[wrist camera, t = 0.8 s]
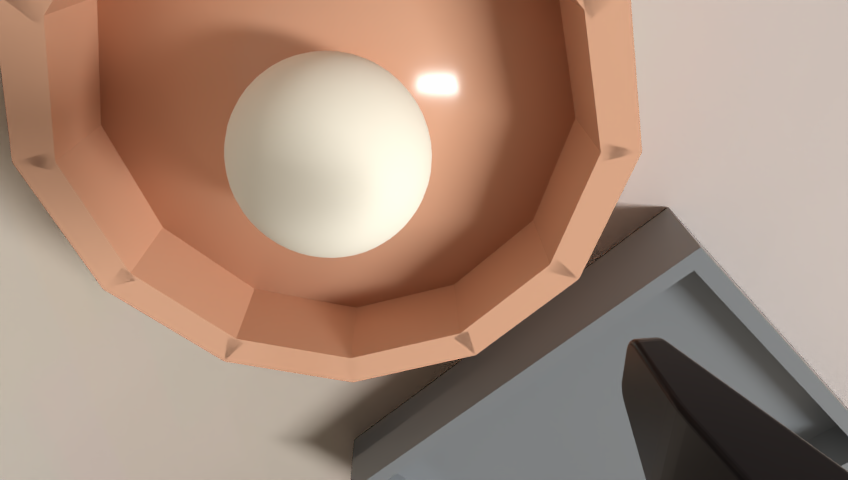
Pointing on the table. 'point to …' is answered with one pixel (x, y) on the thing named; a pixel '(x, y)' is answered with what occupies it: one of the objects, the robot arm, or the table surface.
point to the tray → (598, 375)
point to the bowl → (288, 270)
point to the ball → (327, 154)
